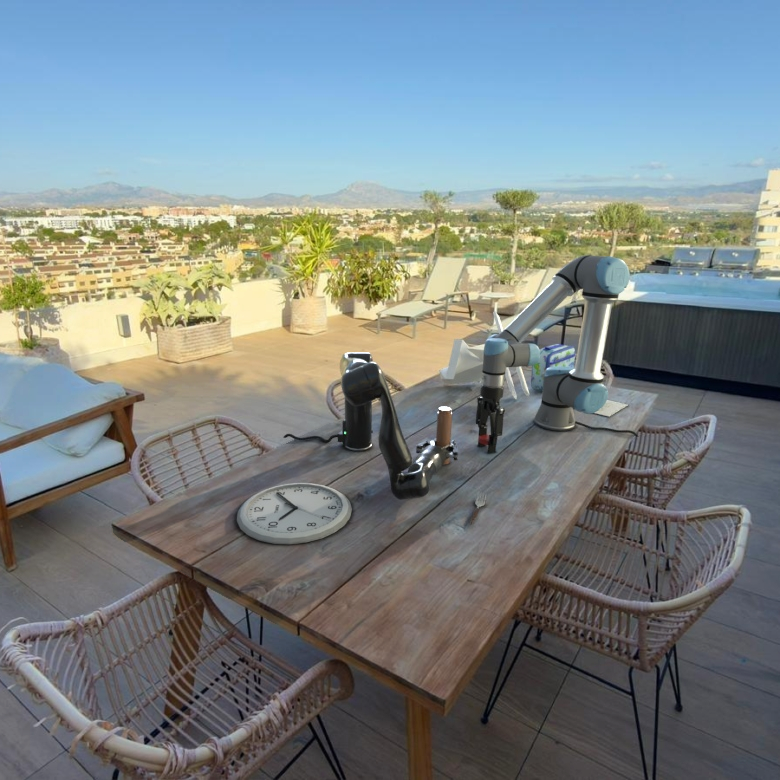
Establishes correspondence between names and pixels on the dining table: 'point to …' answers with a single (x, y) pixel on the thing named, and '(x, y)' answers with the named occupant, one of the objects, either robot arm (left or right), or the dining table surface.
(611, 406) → the invitation card
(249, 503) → the wall clock
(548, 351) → the lunch box
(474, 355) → the white plastic object
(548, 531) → the dining table surface
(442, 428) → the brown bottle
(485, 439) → the lid
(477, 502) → the fork
